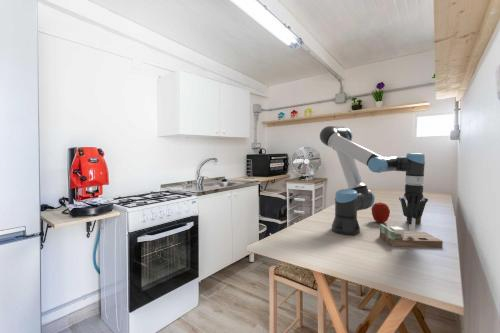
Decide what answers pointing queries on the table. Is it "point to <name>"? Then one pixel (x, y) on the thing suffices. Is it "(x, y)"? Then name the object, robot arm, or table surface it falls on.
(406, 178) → the robot arm
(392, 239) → the board
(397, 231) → the ivory block
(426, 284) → the table surface
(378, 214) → the apple
